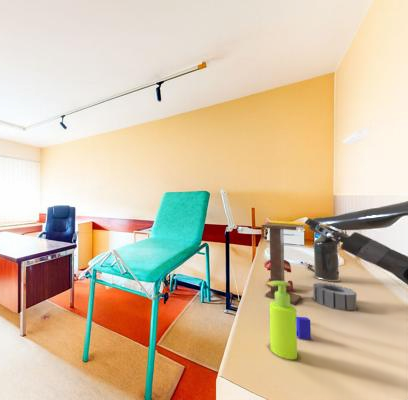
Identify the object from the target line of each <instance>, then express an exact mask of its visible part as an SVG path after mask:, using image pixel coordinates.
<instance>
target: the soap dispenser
mask: <svg viewBox="0 0 408 400" xmlns="http://www.w3.org/2000/svg"><path fill="white" fill-rule="evenodd" d="M287 282H288V281H285V280H284V281H271V282H267V281H266V285H267V284H268V285H270V286H273V287H274V286H278V291H276V292H275V299H274V301H270V302H269V343H270V344H269V348H270V351H271V352H272V353H274V354H275V355H277V356H278V357H280V358H283V359H285V360H296V359H297V358H298V337H297V328H296V317H297V308H296V307H295V305H293V304H290V295H289V294H288V293H286V285H289V283H287Z"/></svg>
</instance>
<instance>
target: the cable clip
mask: <svg viewBox="0 0 408 400" xmlns="http://www.w3.org/2000/svg"><path fill="white" fill-rule="evenodd" d="M311 324H312V323H311V319H310V318H309V317H306V316H296V328H297V338H299V339H301V340H312V332H311V331H312V327H311V326H312V325H311Z"/></svg>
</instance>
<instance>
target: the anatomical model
mask: <svg viewBox="0 0 408 400" xmlns="http://www.w3.org/2000/svg"><path fill="white" fill-rule="evenodd" d="M263 264H264V268H265V269H266V271H269V272H270V259H268V260H266V261H265V262H264V263H263ZM284 272H286V273H290V274H291V273H292V267H291V263H290V262H289V261H288V260H286V259H284ZM267 282H271V277H270V278H268V280H267V281H266V286H267V287H269V288H270V289H271V286H270V285H268V284H267ZM286 282H287V283H289V285H286V292H290V293H293V291H294V283H293V281H292V280H287V281H286Z"/></svg>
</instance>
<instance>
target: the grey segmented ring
mask: <svg viewBox="0 0 408 400" xmlns="http://www.w3.org/2000/svg"><path fill="white" fill-rule="evenodd" d="M312 292H313V293H312V294H313V295H312V297H313V300H314V301H315V302H316V303H318V304H320V305H322V306H323V305H324V306H325V307H328V308H331V309H336V310H341V311H355V310H356V309H357V292H356V291H354V290H353V289H351V288H348V287H345V286H342V285H337V284H332V283H326V282H324V283H323V282H315V283H313V285H312Z"/></svg>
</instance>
